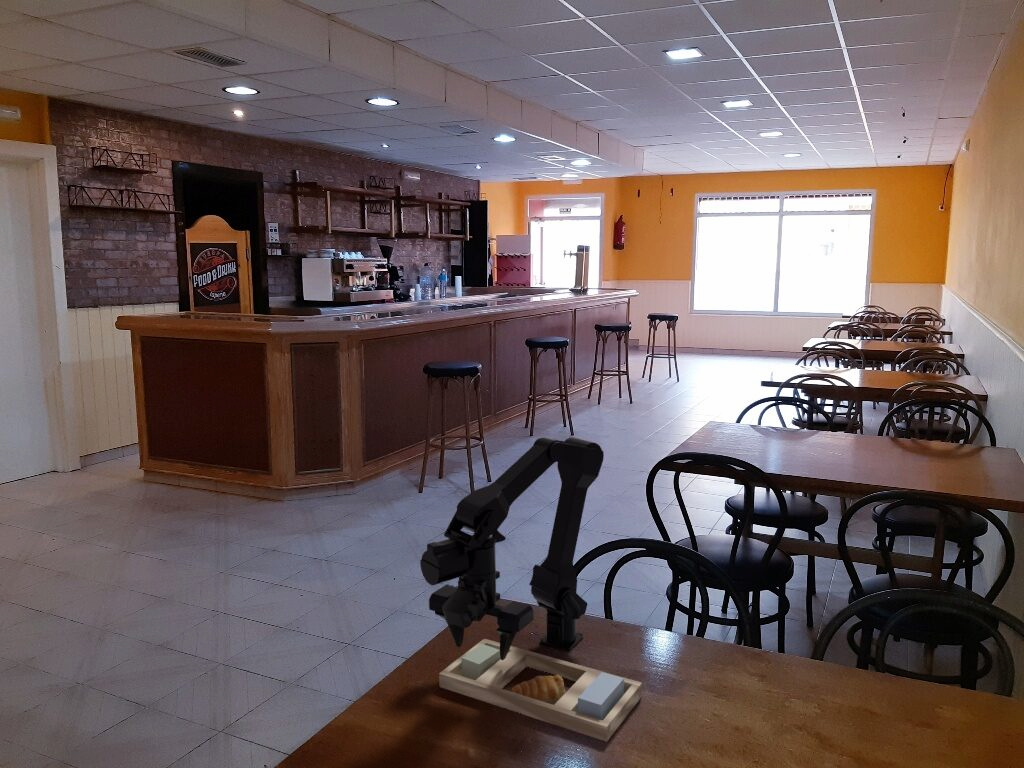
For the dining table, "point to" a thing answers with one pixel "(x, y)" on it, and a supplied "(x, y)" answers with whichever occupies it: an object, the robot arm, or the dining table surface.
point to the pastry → (542, 688)
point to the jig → (558, 714)
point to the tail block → (479, 661)
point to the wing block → (601, 696)
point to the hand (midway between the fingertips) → (481, 652)
